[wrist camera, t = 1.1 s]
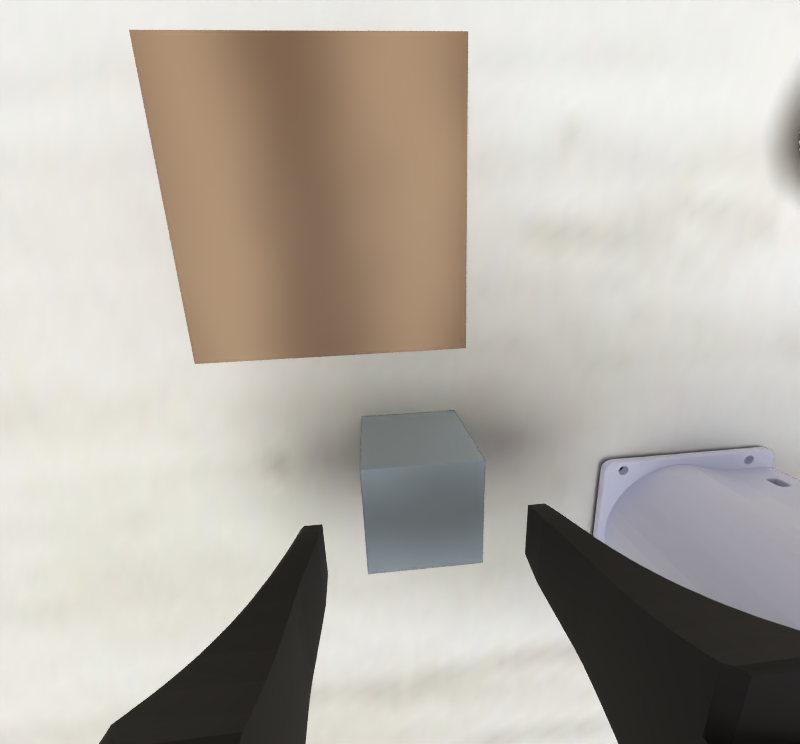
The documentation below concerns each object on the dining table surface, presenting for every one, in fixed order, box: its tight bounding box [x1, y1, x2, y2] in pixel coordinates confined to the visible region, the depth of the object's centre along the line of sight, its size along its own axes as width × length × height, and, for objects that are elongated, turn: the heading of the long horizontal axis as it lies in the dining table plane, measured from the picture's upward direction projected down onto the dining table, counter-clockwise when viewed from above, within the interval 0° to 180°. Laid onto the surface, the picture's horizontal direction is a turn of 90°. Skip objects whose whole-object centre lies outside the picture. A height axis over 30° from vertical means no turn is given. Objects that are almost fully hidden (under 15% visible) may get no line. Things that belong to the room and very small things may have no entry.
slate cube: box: [360, 410, 485, 574], centre depth 16 cm, size 4×4×5 cm
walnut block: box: [129, 30, 468, 364], centre depth 14 cm, size 10×10×3 cm
